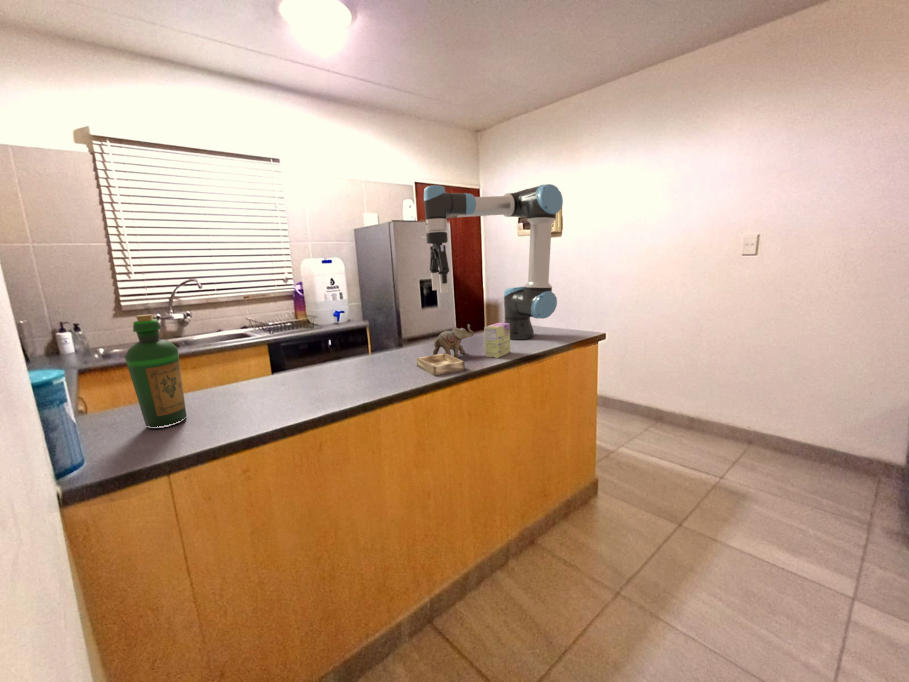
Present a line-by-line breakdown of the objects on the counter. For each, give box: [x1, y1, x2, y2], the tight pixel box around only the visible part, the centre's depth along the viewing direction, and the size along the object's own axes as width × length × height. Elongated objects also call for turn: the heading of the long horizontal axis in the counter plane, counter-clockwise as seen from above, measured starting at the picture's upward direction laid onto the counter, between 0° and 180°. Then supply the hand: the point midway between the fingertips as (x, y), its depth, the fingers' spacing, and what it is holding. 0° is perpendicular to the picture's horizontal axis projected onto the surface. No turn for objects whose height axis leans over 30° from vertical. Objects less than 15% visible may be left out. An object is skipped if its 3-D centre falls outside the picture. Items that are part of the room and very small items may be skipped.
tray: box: [416, 352, 466, 377], centre depth 140 cm, size 12×15×3 cm
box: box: [483, 322, 511, 359], centre depth 154 cm, size 10×6×12 cm, turn 145°
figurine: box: [432, 323, 474, 359], centre depth 154 cm, size 10×14×15 cm, turn 88°
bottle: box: [124, 313, 187, 427], centre depth 99 cm, size 11×11×28 cm
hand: (440, 291), depth 147 cm, fingers open, 13 cm apart
